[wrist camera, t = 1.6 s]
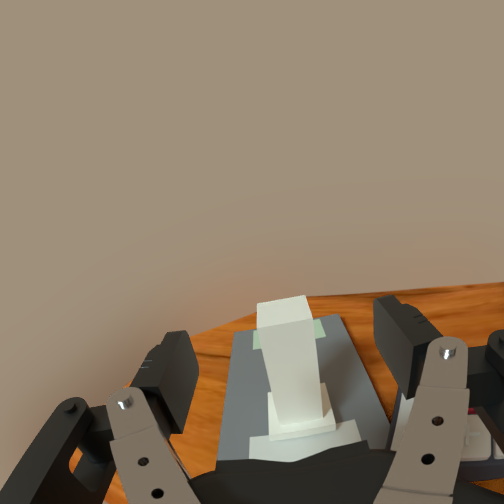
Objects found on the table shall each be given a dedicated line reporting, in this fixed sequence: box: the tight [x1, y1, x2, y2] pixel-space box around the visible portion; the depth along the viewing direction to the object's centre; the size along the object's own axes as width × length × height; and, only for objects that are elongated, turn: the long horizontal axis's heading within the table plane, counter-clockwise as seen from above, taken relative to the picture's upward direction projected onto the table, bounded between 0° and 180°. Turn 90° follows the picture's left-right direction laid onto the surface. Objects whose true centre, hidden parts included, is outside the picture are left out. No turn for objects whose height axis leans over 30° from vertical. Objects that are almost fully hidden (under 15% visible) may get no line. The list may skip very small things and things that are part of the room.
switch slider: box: [257, 295, 336, 441], centre depth 24 cm, size 6×6×12 cm
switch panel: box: [216, 314, 390, 462], centre depth 32 cm, size 16×26×2 cm, turn 179°
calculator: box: [385, 386, 504, 482], centre depth 18 cm, size 11×4×15 cm
